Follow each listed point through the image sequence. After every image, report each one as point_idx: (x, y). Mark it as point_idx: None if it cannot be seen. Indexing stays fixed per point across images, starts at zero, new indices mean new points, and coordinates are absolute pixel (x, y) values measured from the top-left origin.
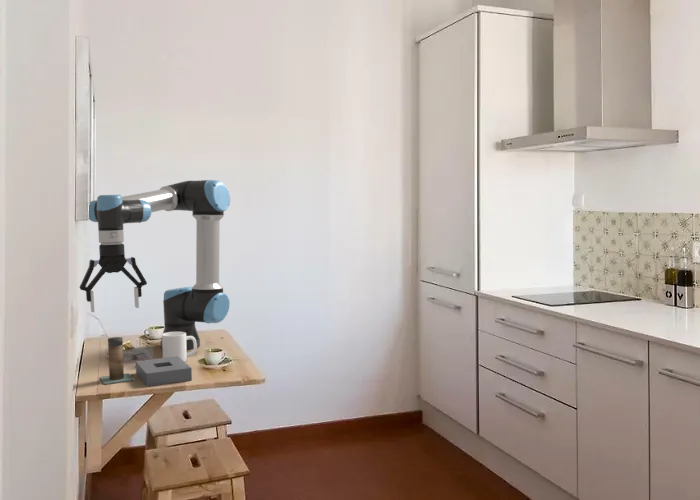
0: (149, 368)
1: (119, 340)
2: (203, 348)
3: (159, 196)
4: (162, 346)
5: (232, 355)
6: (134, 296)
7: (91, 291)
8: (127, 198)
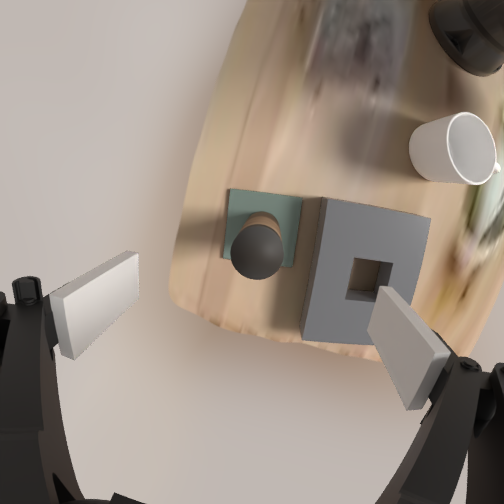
0: (327, 299)
1: (265, 277)
2: (497, 89)
3: None
4: (428, 136)
5: None
6: (403, 314)
7: (62, 340)
8: None
